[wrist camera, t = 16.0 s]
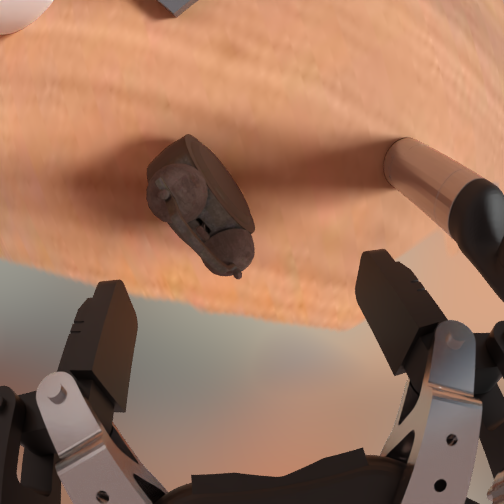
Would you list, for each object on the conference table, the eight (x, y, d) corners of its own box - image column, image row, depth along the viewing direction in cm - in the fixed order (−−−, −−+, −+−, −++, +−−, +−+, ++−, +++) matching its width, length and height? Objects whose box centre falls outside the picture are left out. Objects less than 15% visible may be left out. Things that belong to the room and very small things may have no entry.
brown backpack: (151, 152, 39) (110, 218, 23) (192, 120, 38) (176, 163, 21) (212, 223, 47) (216, 318, 30) (251, 197, 45) (277, 284, 29)
